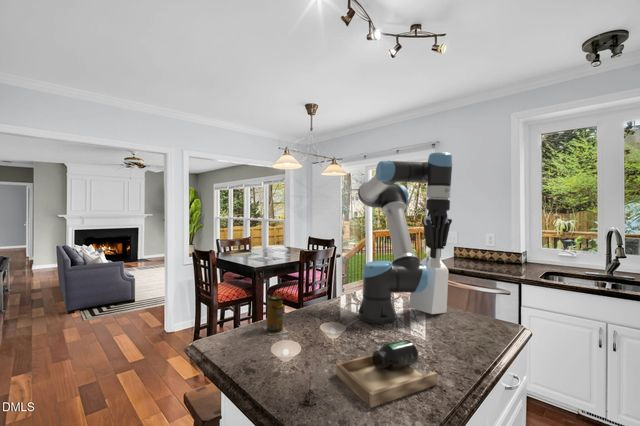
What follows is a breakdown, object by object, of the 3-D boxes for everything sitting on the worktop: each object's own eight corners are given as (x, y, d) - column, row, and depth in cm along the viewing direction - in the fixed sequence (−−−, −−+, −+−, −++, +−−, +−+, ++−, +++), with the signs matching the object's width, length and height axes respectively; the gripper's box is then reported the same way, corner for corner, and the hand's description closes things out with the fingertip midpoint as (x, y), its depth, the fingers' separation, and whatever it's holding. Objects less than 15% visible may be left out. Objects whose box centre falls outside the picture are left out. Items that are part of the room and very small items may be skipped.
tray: (395, 358, 96) (395, 348, 96) (436, 384, 82) (437, 373, 82) (335, 374, 86) (335, 363, 86) (370, 408, 72) (371, 395, 72)
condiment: (281, 324, 122) (281, 293, 122) (288, 332, 114) (289, 299, 114) (262, 327, 119) (262, 296, 119) (269, 336, 111) (269, 302, 111)
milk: (423, 306, 148) (429, 250, 150) (446, 312, 139) (452, 253, 141) (408, 307, 140) (414, 248, 142) (431, 314, 131) (438, 251, 133)
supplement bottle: (410, 335, 92) (376, 342, 87) (422, 358, 87) (388, 367, 82) (399, 346, 96) (366, 354, 91) (410, 368, 92) (377, 378, 86)
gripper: (434, 198, 101) (431, 271, 102) (460, 199, 107) (456, 267, 108) (416, 198, 107) (413, 266, 108) (441, 199, 114) (438, 263, 115)
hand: (434, 267), depth 108 cm, fingers closed
